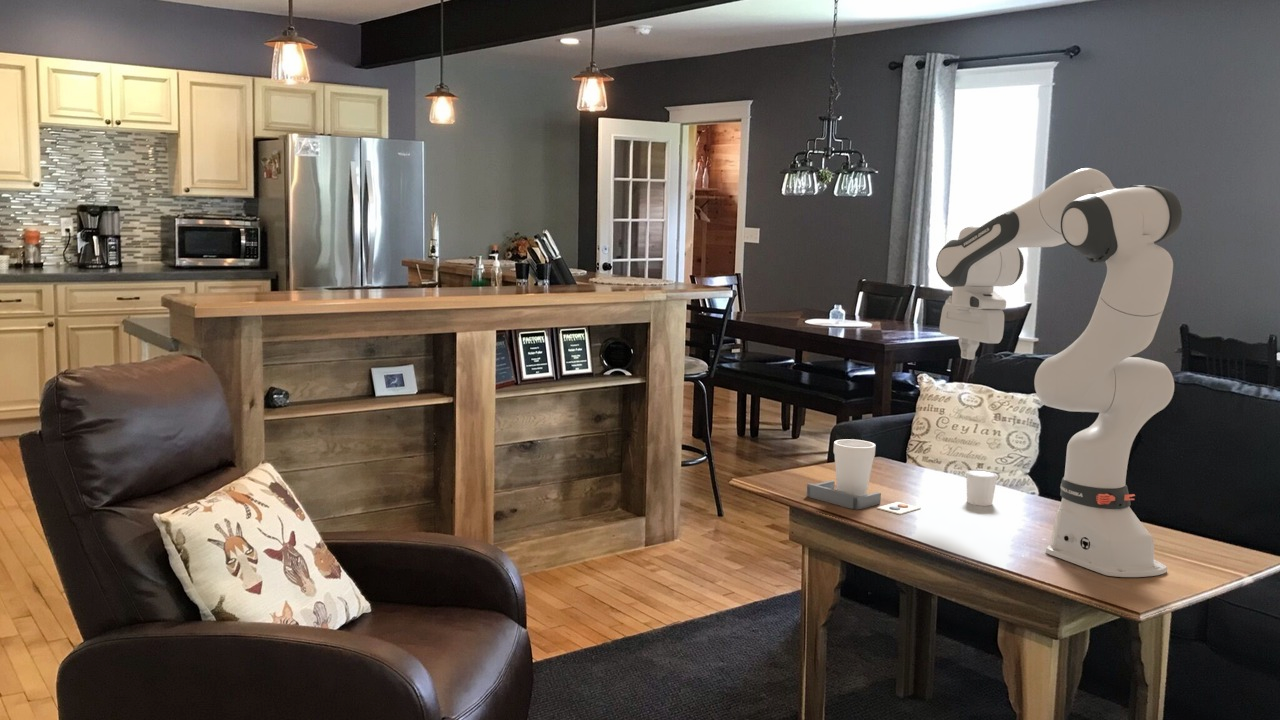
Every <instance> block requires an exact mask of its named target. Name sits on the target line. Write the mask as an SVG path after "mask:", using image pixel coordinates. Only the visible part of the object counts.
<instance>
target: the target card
mask: <svg viewBox="0 0 1280 720" xmlns="http://www.w3.org/2000/svg"><path fill="white" fill-rule="evenodd" d="M876 509H878V510H881V511H885V512H888V513H893V514H896V515H899V516H900V515H905V514H908V513H911V512H914V511H918V510H921V507H920V506H916V505H915V506H914V505H912V504H908V503H904V502H900V501H896V502H892V503H888V504H885V505H881V506H877V507H876Z"/></svg>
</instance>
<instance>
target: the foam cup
mask: <svg viewBox="0 0 1280 720" xmlns="http://www.w3.org/2000/svg"><path fill="white" fill-rule="evenodd" d="M876 447H877V446H876V443H874V442H871V441H867V440H863V439H862V440H861V439H854V438H851V439H848V438H847V439H846V438H845V439H843V438H842V439H837V440H835V441H834V442H833V450H832V451H833V454H834V465H835V478H836V479H835V482H836V490H838V491H842V492H846V493H850V494H854V495H858V496H864V495H868V488H869V483H870V478H871V473H872V468H873V463H874V458H875V456H876Z"/></svg>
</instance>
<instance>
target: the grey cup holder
mask: <svg viewBox="0 0 1280 720" xmlns="http://www.w3.org/2000/svg"><path fill="white" fill-rule="evenodd" d="M835 482H836V480H827V481H823V482H818V483H807V484H806V497H807V498H810V499H815V500H818V501H821V502H822V501H823V502H826V503H829V504H833V505H837V506H840V507H843V508H848V509H851V510H855V511H857V510H863V509H865V508H869V507H874V506H877V505H880V504H881V499H882V496H881V495H882V492H878V491H875V492H872V493H867V494H866V495H864V496H858V495H854V494H850V493H846V492H842V491H838V490H837V489H835Z"/></svg>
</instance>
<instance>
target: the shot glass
mask: <svg viewBox="0 0 1280 720" xmlns="http://www.w3.org/2000/svg"><path fill="white" fill-rule="evenodd" d="M997 480H998V474H997V473H995V472H992V471H990V470H989V471H988V470H984V469H983V470H980V469H971V470H967V471H966V502H967V503H968V504H971V505H973V506H979V507H982V506H983V507H984V506H985V507H987V506H992V505H993V502H994V494H995V491H996V483H997Z"/></svg>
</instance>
